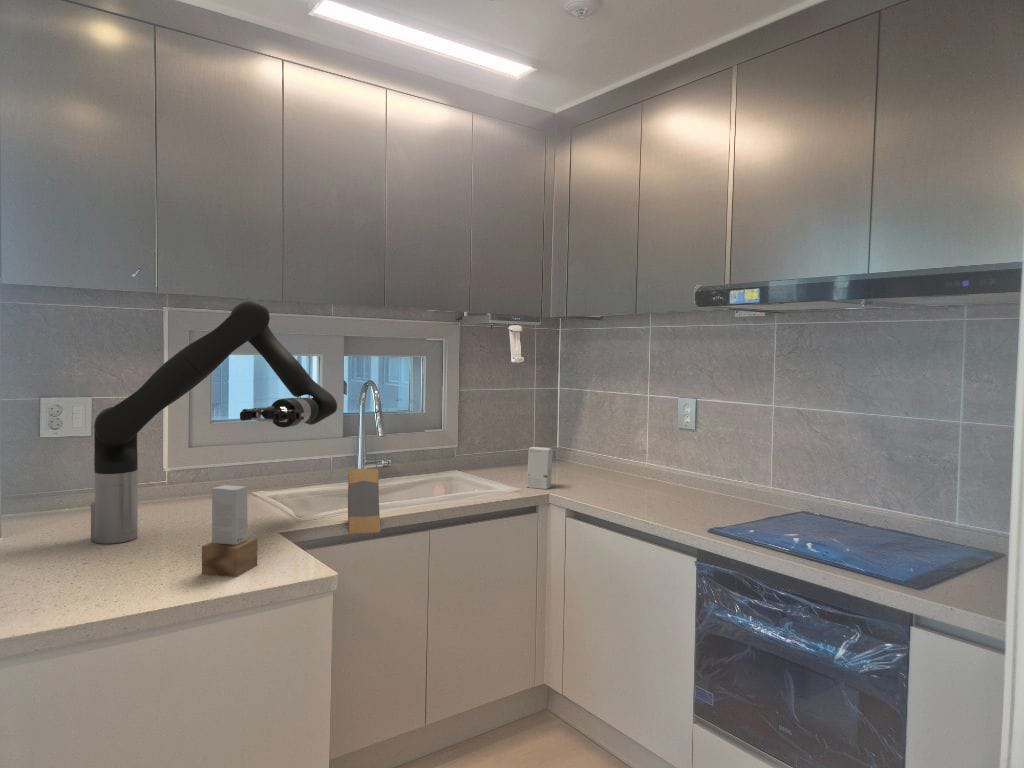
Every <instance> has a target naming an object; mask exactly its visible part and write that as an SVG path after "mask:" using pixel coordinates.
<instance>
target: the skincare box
mask: <svg viewBox="0 0 1024 768" xmlns="http://www.w3.org/2000/svg"><path fill="white" fill-rule="evenodd" d="M247 538H248V486H247V485H246V486H241V485H240V486H239V485H227V484H223V485H220V486H217V487H212V488H211V542H212V543H216V544H228V545H237V544H239V543H242V542H244V541H247Z"/></svg>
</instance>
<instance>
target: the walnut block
mask: <svg viewBox="0 0 1024 768" xmlns="http://www.w3.org/2000/svg"><path fill="white" fill-rule="evenodd" d="M256 566H258V538H257V537H255V538H254V537H247V541H244V542H242V543H239V544H237V545H228V544H216V543H212V541H211V542H208V543H206V544H203V545H202V546H201V575H206V576H207V575H208V576H216V577H217V576H219V577H234V578H238V577H239V576H241V575H243V574H244V573H246V572H247V571H250V570H252V569H253V568H255V567H256Z"/></svg>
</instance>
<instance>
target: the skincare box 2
mask: <svg viewBox="0 0 1024 768" xmlns="http://www.w3.org/2000/svg"><path fill="white" fill-rule="evenodd" d="M553 453H554V449H553V448H549V447H541V446H532V447H531V446H530V447H529V448H528V454H527V455H528V456H527V471H526V472H527V474H526V488H527V487H529V488H528V489H541V490H542V489H543V490H548V489H549V488H552V474H553V473H552V472H553V471H552V470H553Z"/></svg>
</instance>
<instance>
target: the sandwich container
mask: <svg viewBox="0 0 1024 768" xmlns="http://www.w3.org/2000/svg"><path fill="white" fill-rule="evenodd" d="M347 479H348V480H347V481H348V482H347V483H348V484H347V527H348V534H367V533H368V534H369V533H380V532H381V520H380V518H381V515H380V495H379V493H380V491H379V490H380V488H379V487H380V485H379V469H378V468H349V469H348V478H347Z"/></svg>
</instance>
